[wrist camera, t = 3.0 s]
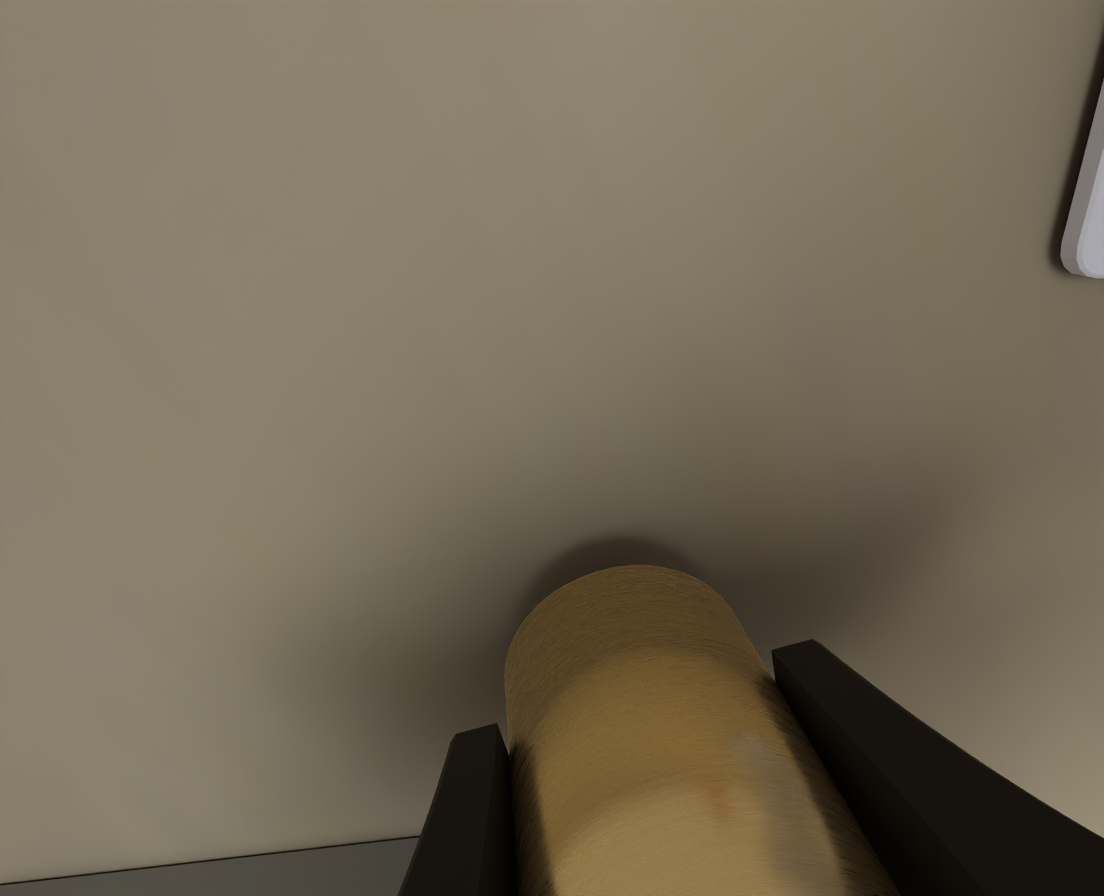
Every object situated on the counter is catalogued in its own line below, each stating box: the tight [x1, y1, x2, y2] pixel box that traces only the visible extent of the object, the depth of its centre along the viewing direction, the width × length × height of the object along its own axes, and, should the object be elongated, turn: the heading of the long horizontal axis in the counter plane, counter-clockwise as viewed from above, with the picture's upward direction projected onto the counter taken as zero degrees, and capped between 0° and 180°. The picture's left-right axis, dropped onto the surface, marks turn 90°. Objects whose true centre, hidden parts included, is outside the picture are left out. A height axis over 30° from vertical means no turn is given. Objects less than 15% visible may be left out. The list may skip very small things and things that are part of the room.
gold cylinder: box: [504, 565, 901, 896], centre depth 8 cm, size 4×4×6 cm
